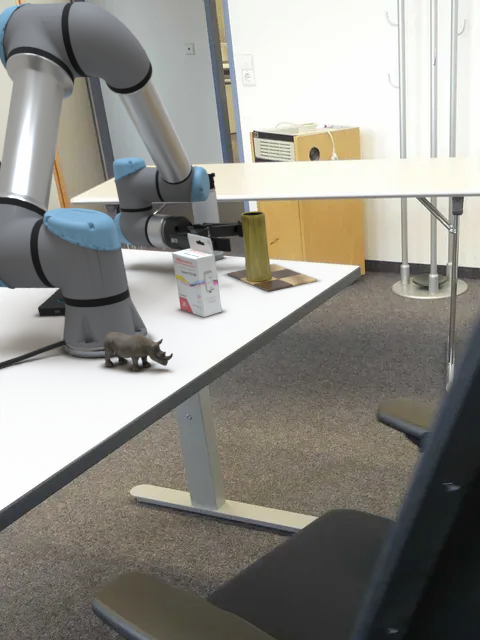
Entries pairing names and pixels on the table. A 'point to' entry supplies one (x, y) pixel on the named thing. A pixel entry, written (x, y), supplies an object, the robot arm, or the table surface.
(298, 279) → the board
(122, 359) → the rhino figurine
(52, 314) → the smart home device
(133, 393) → the table surface
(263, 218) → the vase
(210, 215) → the travel mug
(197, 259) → the ink cartridge box
